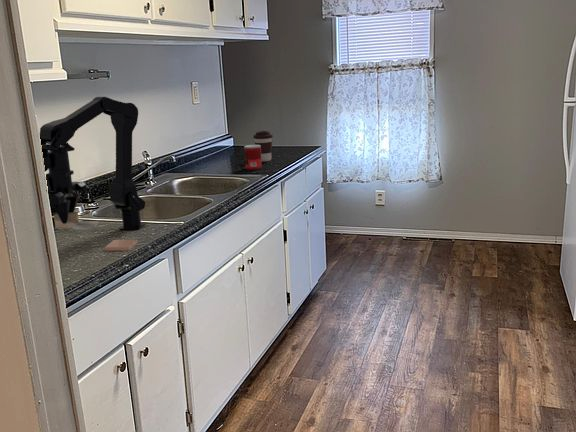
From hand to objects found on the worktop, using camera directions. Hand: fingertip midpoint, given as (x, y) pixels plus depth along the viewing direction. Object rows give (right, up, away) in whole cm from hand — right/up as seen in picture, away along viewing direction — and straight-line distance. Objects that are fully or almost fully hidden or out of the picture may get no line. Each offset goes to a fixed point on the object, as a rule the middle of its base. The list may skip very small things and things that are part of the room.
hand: (66, 222), depth 169 cm
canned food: (+47, +25, +115) cm, 127 cm away
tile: (+12, -7, +1) cm, 14 cm away
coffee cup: (+52, +30, +136) cm, 149 cm away
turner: (+3, -1, 0) cm, 3 cm away
